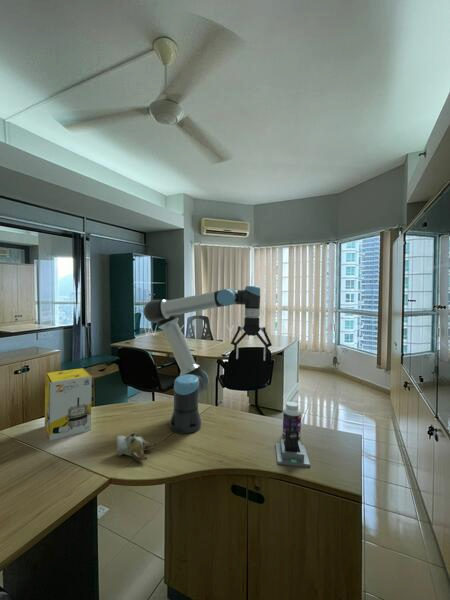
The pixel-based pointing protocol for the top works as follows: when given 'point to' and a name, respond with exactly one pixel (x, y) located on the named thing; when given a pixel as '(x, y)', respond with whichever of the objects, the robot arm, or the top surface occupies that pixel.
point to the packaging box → (67, 402)
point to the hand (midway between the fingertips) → (250, 359)
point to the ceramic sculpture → (132, 446)
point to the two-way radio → (291, 438)
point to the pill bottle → (292, 412)
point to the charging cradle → (291, 455)
